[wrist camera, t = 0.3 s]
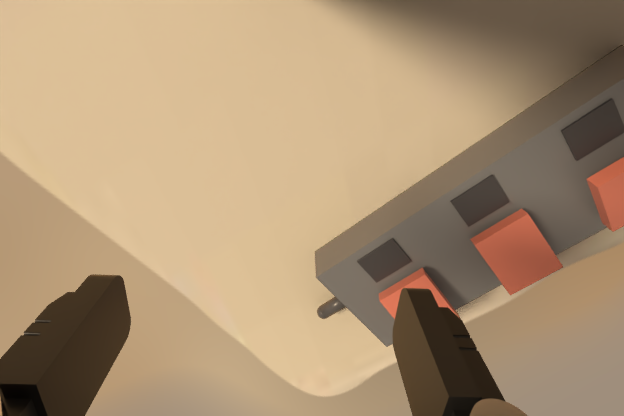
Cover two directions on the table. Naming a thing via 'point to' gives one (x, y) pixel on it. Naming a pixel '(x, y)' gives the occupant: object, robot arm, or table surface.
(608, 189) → the block
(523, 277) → the block
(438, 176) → the power strip
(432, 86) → the table surface
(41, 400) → the robot arm
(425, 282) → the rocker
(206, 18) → the table surface
